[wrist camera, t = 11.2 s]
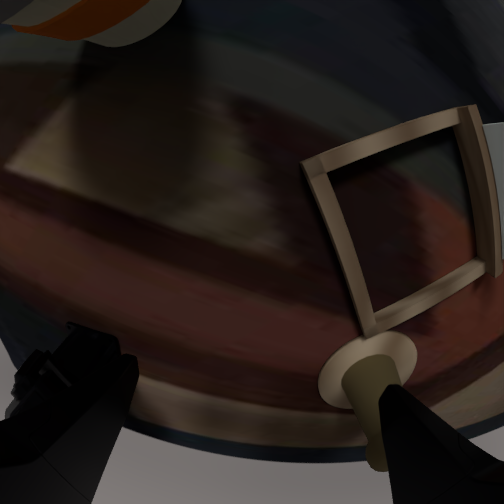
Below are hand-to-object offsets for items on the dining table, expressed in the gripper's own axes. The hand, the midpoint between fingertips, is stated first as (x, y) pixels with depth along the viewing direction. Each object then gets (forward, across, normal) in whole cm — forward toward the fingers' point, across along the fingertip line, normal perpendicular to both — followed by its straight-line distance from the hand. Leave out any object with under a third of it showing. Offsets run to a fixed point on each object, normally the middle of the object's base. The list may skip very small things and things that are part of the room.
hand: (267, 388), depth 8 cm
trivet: (+13, -13, +11) cm, 21 cm away
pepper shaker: (+13, -13, +11) cm, 21 cm away
